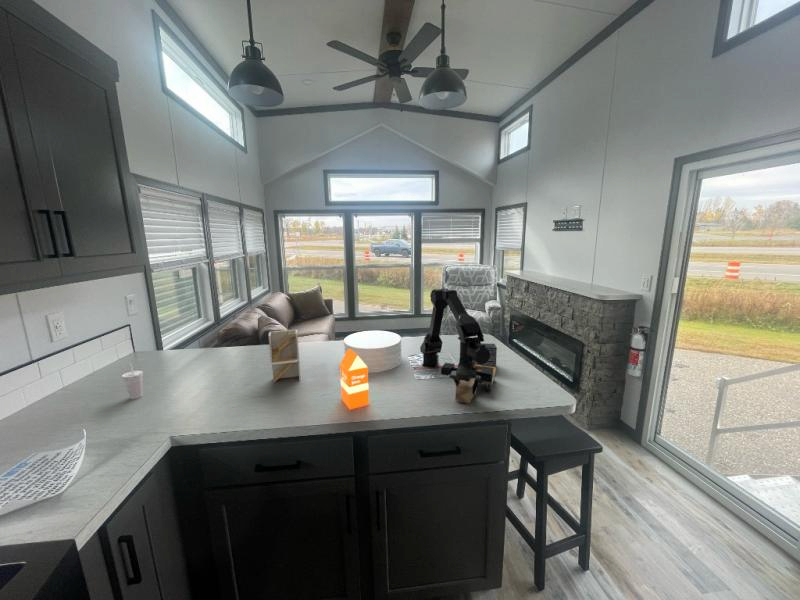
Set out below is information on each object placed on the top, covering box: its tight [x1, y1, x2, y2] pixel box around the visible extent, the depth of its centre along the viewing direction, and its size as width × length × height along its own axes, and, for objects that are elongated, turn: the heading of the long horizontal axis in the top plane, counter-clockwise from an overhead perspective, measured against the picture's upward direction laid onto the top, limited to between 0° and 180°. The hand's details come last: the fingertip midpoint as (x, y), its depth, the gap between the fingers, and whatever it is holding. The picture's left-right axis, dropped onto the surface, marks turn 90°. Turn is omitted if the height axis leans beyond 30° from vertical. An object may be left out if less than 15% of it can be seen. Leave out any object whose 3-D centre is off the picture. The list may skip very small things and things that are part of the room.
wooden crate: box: [268, 324, 302, 383], centre depth 138 cm, size 8×12×26 cm
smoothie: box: [121, 362, 144, 400], centre depth 127 cm, size 6×6×14 cm
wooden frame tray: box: [475, 365, 497, 393], centre depth 135 cm, size 10×14×6 cm
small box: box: [475, 342, 498, 368], centre depth 153 cm, size 11×6×10 cm, turn 84°
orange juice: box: [339, 348, 370, 410], centre depth 121 cm, size 8×9×20 cm
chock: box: [454, 378, 478, 404], centre depth 124 cm, size 5×11×5 cm, turn 153°
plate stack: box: [343, 330, 402, 373], centre depth 161 cm, size 28×28×12 cm
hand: (466, 393), depth 124 cm, fingers closed on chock, 5 cm apart
